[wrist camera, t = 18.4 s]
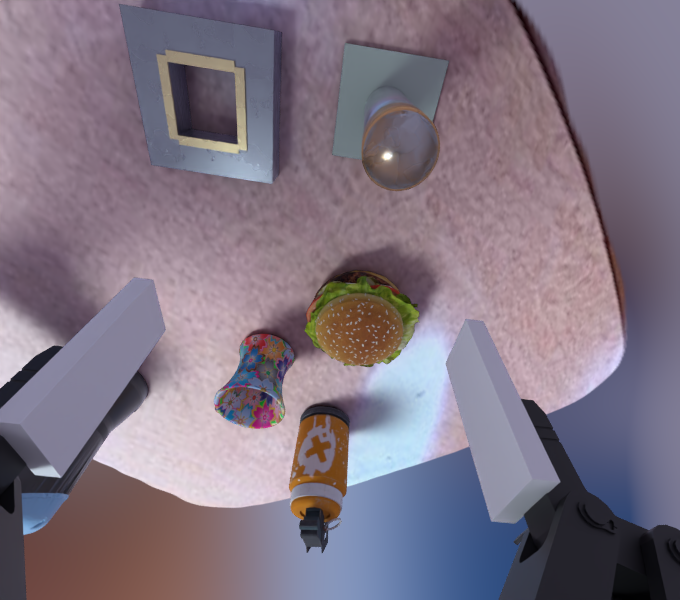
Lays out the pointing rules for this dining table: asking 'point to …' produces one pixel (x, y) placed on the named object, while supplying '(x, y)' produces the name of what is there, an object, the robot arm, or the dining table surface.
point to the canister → (319, 473)
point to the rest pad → (376, 71)
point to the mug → (257, 383)
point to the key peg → (397, 141)
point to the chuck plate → (172, 95)
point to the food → (361, 319)
